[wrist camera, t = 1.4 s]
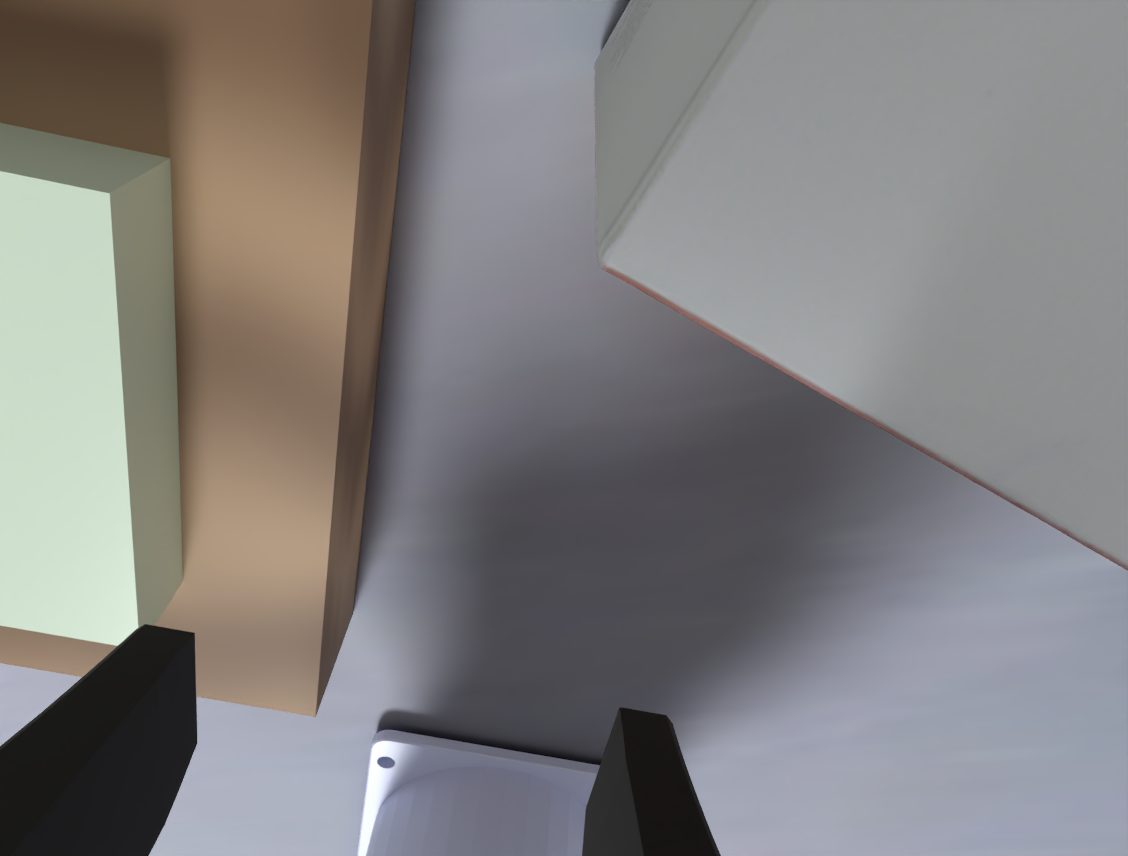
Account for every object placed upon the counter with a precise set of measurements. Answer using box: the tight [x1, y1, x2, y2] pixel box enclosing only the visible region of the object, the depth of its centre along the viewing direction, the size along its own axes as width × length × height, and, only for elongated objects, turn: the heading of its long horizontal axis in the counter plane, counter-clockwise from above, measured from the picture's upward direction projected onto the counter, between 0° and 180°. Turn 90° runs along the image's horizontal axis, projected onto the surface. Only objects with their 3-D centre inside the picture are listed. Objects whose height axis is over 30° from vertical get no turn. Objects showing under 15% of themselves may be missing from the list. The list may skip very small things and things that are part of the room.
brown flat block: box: [0, 0, 416, 717], centre depth 18 cm, size 16×14×4 cm
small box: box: [594, 0, 1128, 570], centre depth 12 cm, size 8×6×10 cm
